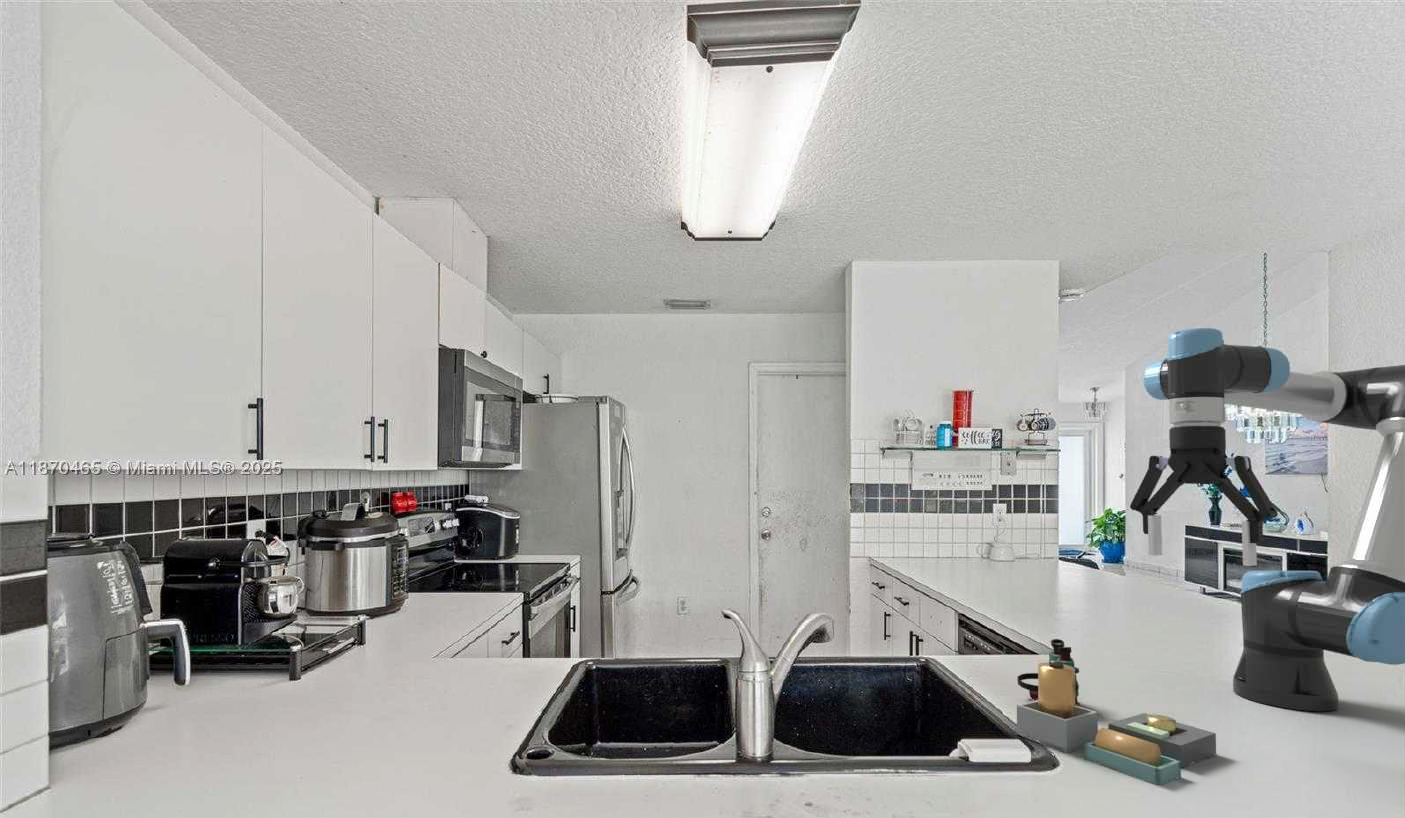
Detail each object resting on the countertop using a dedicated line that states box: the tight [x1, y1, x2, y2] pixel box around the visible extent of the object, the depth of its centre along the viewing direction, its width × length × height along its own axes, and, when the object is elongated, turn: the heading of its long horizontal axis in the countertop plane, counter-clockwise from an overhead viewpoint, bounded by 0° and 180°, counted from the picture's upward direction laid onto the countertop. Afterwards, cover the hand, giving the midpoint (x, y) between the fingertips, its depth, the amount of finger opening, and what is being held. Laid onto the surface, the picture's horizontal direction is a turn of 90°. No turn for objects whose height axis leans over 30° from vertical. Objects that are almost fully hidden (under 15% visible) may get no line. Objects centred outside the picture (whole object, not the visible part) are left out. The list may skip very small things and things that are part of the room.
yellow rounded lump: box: [1147, 713, 1177, 737], centre depth 109 cm, size 4×4×2 cm
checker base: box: [1107, 712, 1217, 769], centre depth 109 cm, size 10×10×4 cm
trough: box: [1083, 727, 1182, 786], centre depth 102 cm, size 6×10×4 cm, turn 32°
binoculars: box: [1016, 638, 1081, 707], centre depth 130 cm, size 9×11×10 cm
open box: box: [1016, 700, 1099, 754], centre depth 112 cm, size 8×8×4 cm
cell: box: [1037, 660, 1075, 719], centre depth 113 cm, size 5×5×11 cm
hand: (1200, 560), depth 118 cm, fingers open, 13 cm apart
